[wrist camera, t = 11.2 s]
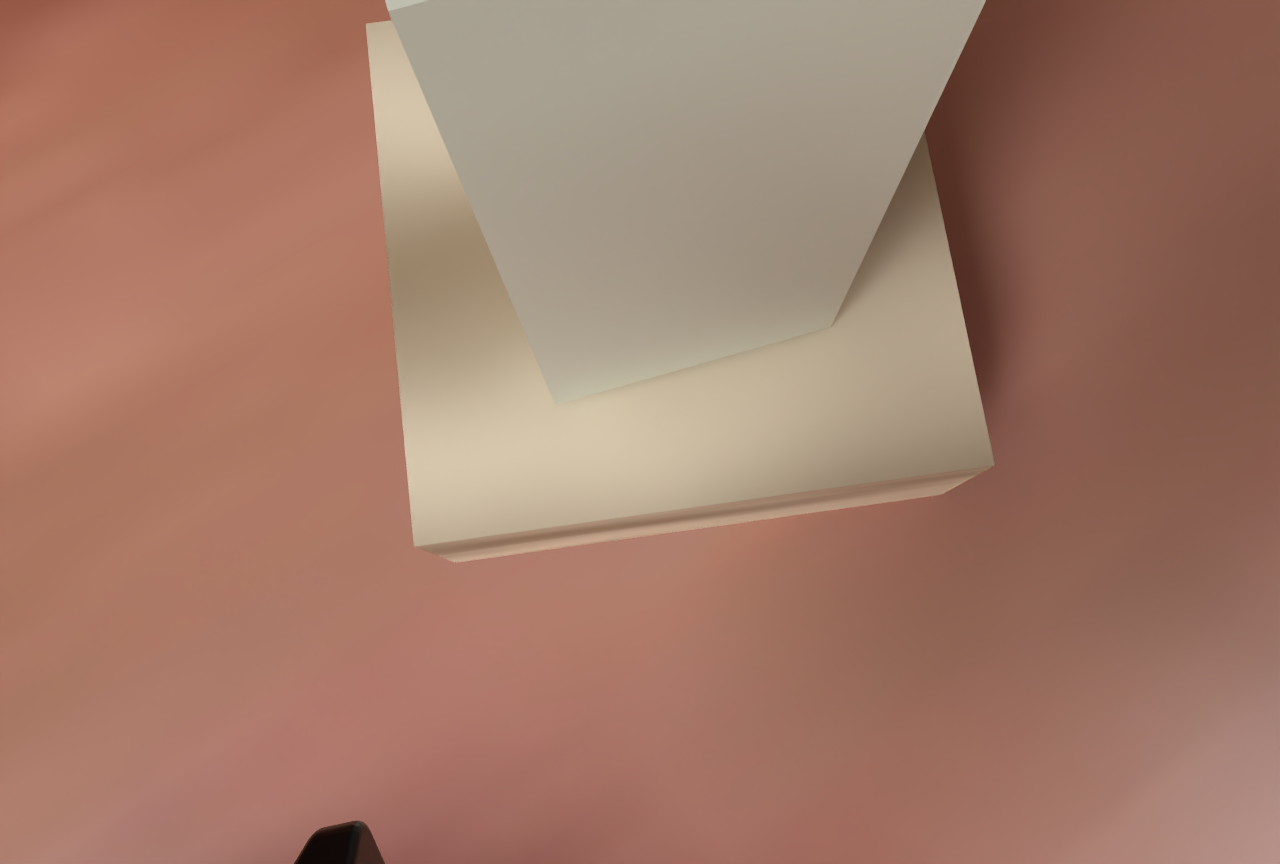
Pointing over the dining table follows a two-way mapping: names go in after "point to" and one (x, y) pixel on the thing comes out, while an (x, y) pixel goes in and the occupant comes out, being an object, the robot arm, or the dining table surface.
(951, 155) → the dining table surface
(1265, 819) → the dining table surface
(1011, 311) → the dining table surface
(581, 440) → the maple block
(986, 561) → the dining table surface
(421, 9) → the sage block
